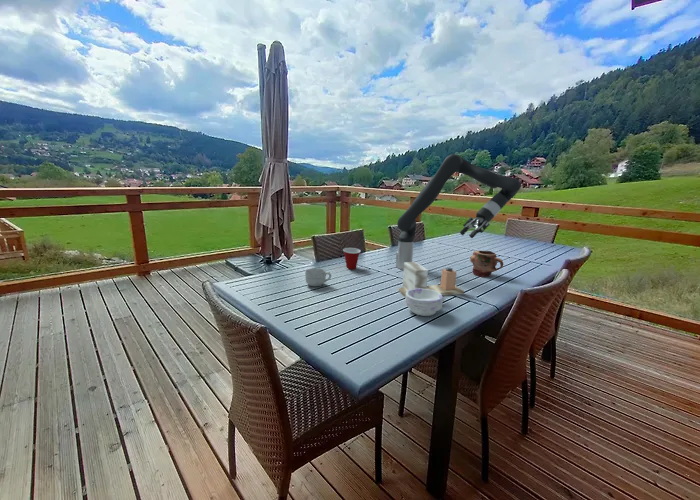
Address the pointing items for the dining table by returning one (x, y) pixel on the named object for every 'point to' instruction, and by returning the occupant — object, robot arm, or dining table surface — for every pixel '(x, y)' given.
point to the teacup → (316, 276)
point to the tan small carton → (448, 279)
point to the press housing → (421, 280)
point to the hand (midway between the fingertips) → (465, 235)
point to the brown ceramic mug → (484, 263)
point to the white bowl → (423, 301)
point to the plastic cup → (351, 257)
